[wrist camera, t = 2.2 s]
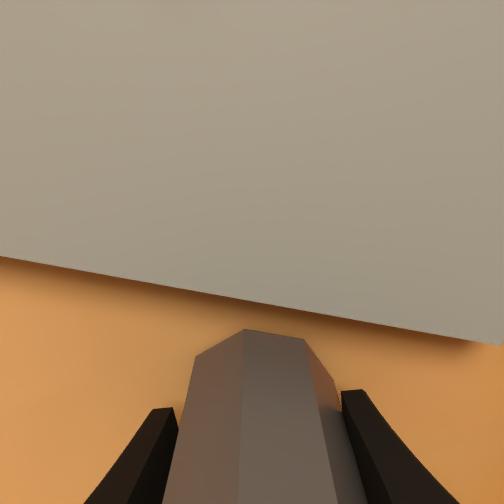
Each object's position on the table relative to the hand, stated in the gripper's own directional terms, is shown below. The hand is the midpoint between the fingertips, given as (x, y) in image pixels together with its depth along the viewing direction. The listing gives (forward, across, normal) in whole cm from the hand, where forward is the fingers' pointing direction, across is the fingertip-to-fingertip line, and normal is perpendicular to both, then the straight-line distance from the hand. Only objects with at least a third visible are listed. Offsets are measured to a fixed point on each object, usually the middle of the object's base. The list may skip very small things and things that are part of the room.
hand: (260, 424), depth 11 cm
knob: (+1, 0, 0) cm, 1 cm away
